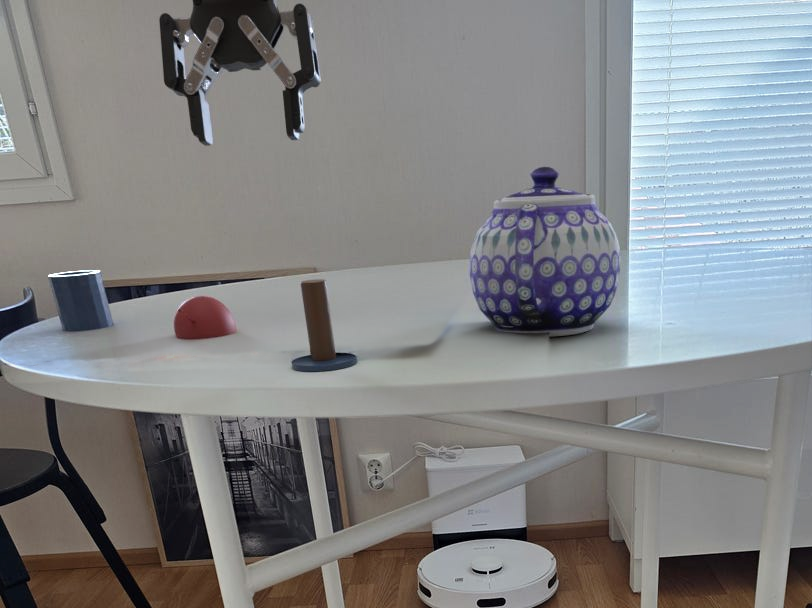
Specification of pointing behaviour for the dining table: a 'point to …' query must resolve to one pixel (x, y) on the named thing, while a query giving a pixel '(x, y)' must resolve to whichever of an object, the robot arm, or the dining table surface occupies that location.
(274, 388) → the dining table surface
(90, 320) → the tin
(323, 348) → the peg on round base
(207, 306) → the fruit
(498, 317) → the teapot
